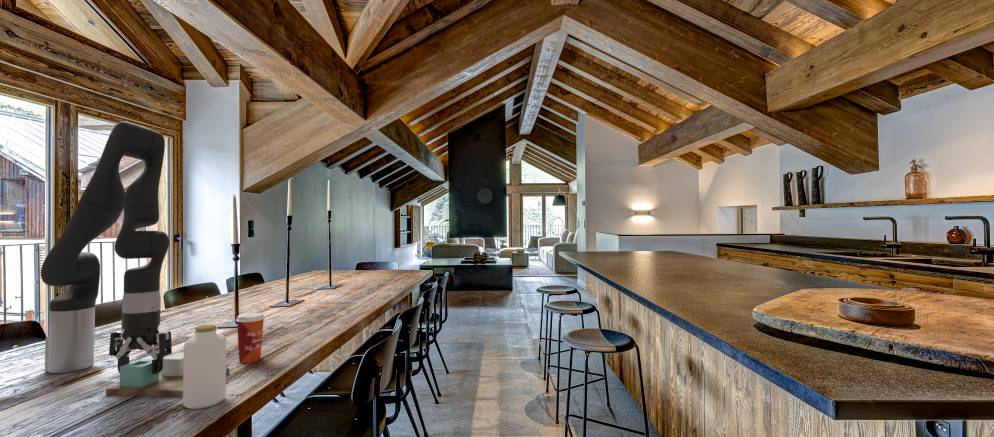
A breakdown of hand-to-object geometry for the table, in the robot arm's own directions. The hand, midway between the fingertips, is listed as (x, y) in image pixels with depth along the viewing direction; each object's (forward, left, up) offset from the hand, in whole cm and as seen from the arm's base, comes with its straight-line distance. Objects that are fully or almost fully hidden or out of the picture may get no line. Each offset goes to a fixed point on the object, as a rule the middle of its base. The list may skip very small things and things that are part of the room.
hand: (140, 372), depth 106 cm
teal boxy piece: (0, 0, -3) cm, 3 cm away
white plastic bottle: (+22, -7, -4) cm, 23 cm away
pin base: (+5, +4, -4) cm, 8 cm away
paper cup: (+14, +23, -4) cm, 27 cm away
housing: (+4, +8, -3) cm, 9 cm away
